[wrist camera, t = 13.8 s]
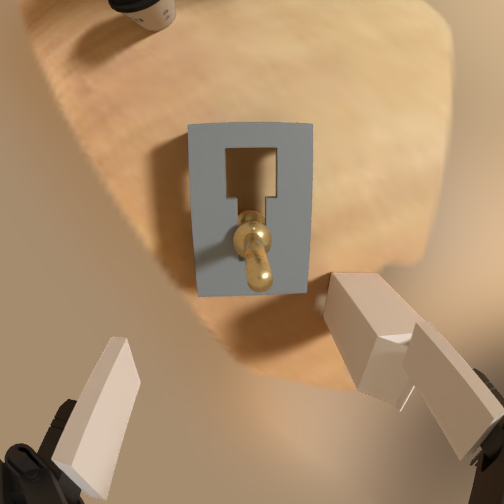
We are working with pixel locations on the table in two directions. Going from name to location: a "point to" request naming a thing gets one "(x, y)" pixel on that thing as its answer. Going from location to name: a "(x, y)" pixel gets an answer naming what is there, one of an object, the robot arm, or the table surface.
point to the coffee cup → (147, 12)
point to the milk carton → (371, 333)
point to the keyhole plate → (226, 208)
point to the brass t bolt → (254, 249)
